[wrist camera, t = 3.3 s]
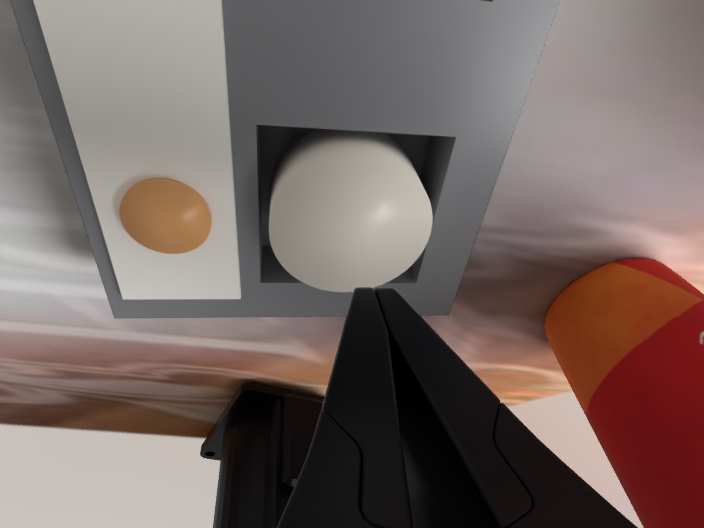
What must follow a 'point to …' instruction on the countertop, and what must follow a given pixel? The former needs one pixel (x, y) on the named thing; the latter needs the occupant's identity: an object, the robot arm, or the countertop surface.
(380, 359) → the robot arm
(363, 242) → the button
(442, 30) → the button board
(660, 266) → the coffee cup
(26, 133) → the countertop surface
